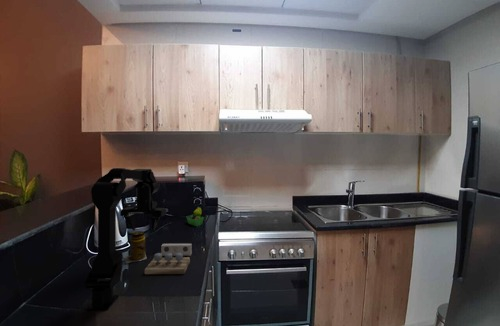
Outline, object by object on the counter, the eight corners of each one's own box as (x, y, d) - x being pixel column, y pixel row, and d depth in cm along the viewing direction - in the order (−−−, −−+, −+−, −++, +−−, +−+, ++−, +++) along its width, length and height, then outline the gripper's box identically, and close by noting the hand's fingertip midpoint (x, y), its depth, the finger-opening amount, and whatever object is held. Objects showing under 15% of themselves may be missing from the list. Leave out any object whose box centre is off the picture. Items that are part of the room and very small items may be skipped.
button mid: (170, 265, 92) (170, 256, 92) (163, 265, 92) (163, 256, 92) (173, 261, 95) (173, 252, 95) (166, 262, 95) (166, 252, 95)
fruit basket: (185, 223, 152) (185, 207, 152) (196, 220, 159) (196, 205, 158) (195, 227, 145) (195, 210, 144) (206, 224, 152) (206, 208, 151)
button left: (160, 265, 92) (160, 256, 92) (153, 265, 92) (153, 256, 92) (162, 262, 95) (162, 252, 95) (155, 262, 95) (155, 253, 95)
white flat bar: (190, 255, 105) (190, 245, 105) (161, 255, 104) (161, 245, 104) (191, 253, 107) (191, 243, 107) (162, 253, 107) (162, 243, 106)
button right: (181, 265, 93) (181, 256, 92) (174, 265, 93) (174, 256, 92) (183, 261, 96) (183, 252, 95) (176, 261, 96) (176, 252, 95)
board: (184, 273, 89) (184, 269, 89) (144, 274, 89) (144, 269, 89) (189, 261, 99) (189, 257, 99) (154, 261, 99) (154, 257, 99)
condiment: (147, 258, 101) (146, 233, 101) (126, 263, 97) (126, 237, 96) (144, 252, 108) (144, 229, 107) (125, 257, 103) (124, 232, 102)
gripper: (171, 193, 105) (171, 225, 106) (134, 192, 106) (134, 224, 107) (160, 198, 94) (160, 233, 95) (119, 197, 95) (119, 232, 96)
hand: (143, 230), depth 98 cm, fingers open, 9 cm apart
